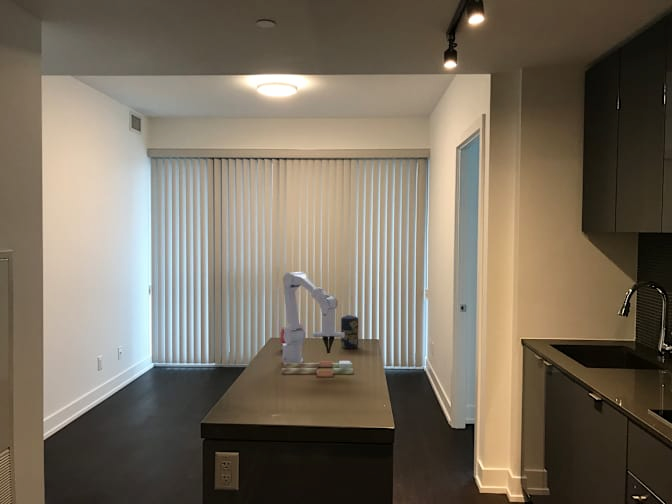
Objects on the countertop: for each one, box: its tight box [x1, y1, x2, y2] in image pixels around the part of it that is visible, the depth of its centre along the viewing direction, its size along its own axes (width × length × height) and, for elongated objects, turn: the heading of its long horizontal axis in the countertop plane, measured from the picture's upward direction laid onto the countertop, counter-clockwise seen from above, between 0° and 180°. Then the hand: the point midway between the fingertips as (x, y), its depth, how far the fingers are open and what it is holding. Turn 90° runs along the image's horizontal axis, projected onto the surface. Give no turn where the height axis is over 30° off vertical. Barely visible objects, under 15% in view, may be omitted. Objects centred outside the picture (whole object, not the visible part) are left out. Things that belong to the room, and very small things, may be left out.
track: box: [281, 362, 354, 375], centre depth 227 cm, size 32×10×2 cm, turn 90°
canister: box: [340, 314, 359, 349], centre depth 272 cm, size 10×10×18 cm
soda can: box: [279, 326, 286, 351], centre depth 267 cm, size 7×7×12 cm
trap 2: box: [316, 369, 334, 378], centre depth 219 cm, size 7×4×2 cm, turn 90°
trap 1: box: [317, 361, 334, 368], centre depth 235 cm, size 7×4×2 cm, turn 90°
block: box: [338, 360, 351, 368], centre depth 227 cm, size 5×5×4 cm
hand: (328, 352), depth 227 cm, fingers closed
